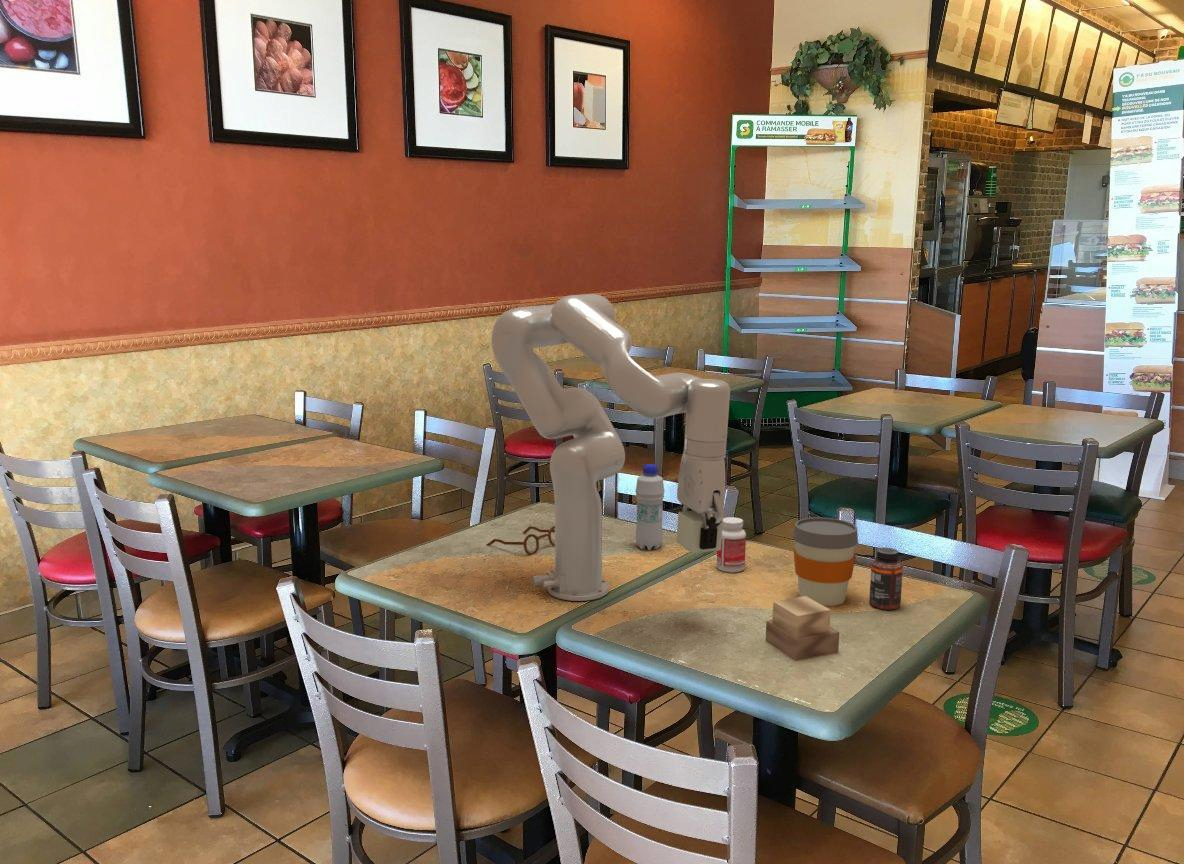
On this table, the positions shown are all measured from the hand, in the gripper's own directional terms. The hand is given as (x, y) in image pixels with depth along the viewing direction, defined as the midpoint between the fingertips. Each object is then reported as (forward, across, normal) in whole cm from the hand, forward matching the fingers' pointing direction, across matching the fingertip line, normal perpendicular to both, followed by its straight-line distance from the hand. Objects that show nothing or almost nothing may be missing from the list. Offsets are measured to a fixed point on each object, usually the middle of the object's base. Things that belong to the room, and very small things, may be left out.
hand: (698, 541), depth 174 cm
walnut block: (+15, +17, +12) cm, 26 cm away
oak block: (+11, +17, +12) cm, 24 cm away
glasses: (+19, -56, -14) cm, 61 cm away
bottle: (+17, -43, +12) cm, 48 cm away
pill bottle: (+16, -23, +22) cm, 35 cm away
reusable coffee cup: (+15, -1, +30) cm, 33 cm away
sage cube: (+1, 0, 0) cm, 1 cm away
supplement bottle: (+15, +7, +39) cm, 42 cm away
